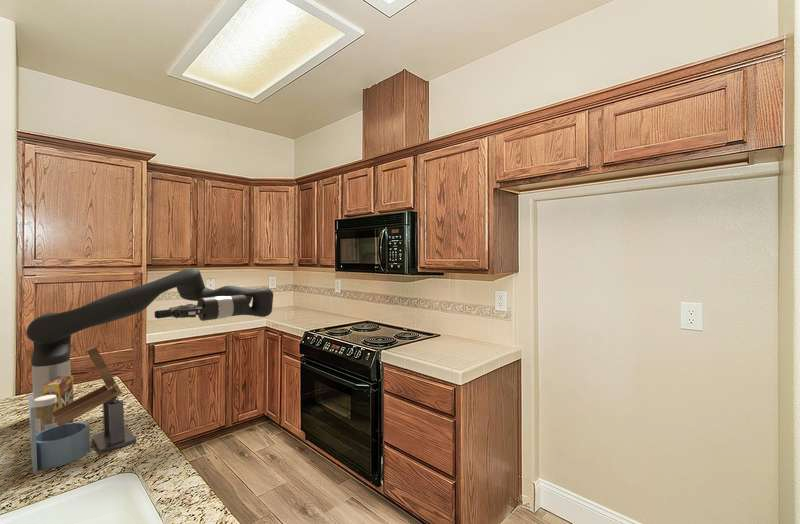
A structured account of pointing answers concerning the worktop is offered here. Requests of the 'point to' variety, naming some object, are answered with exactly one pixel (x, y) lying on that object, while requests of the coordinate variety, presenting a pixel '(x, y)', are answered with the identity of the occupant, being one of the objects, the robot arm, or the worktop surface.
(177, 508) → the worktop surface
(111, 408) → the lever stand
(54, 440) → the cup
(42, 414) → the sprinkles bottle
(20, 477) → the worktop surface
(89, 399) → the lever
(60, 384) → the candy box
